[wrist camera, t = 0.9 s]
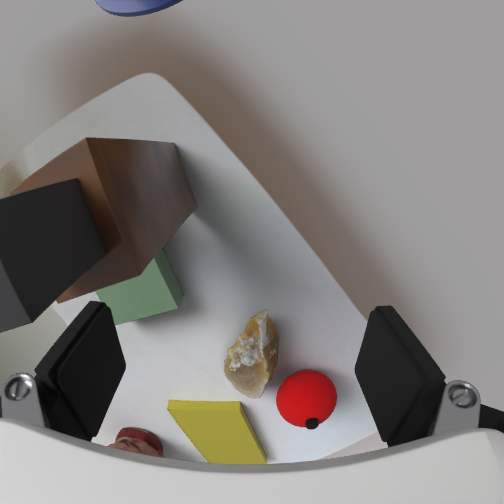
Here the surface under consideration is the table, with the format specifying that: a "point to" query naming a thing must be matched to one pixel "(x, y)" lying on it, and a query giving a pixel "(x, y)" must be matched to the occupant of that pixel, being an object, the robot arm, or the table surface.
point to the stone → (253, 356)
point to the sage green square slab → (144, 292)
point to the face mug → (138, 442)
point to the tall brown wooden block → (122, 202)
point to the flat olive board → (218, 431)
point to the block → (43, 249)
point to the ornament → (306, 398)
